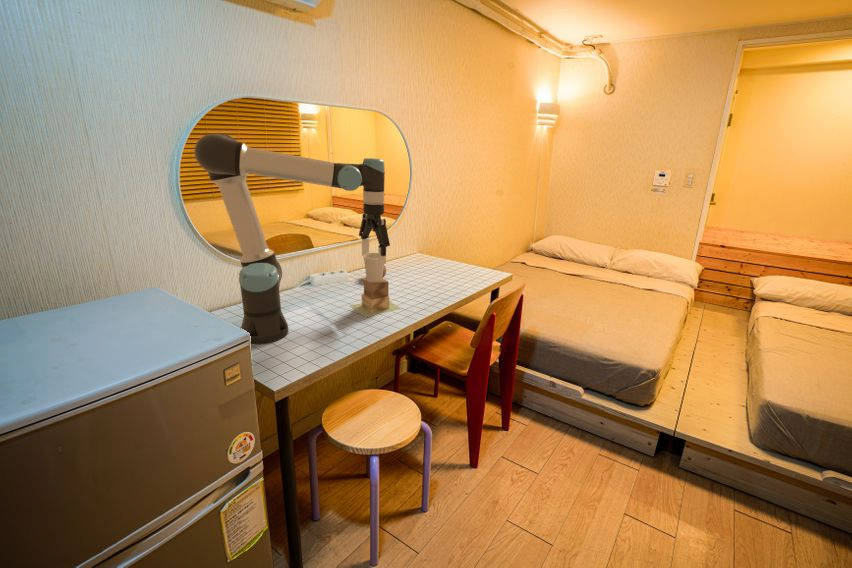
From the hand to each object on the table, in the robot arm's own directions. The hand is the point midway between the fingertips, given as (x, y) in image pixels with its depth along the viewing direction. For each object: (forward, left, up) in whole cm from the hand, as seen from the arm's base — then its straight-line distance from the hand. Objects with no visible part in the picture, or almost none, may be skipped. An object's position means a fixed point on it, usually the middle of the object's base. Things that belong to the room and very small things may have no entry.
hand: (373, 259), depth 156 cm
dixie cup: (0, 0, -8) cm, 9 cm away
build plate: (0, 0, -20) cm, 21 cm away
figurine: (+18, +35, -21) cm, 45 cm away
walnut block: (+1, 0, -14) cm, 14 cm away
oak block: (0, 0, -19) cm, 19 cm away
